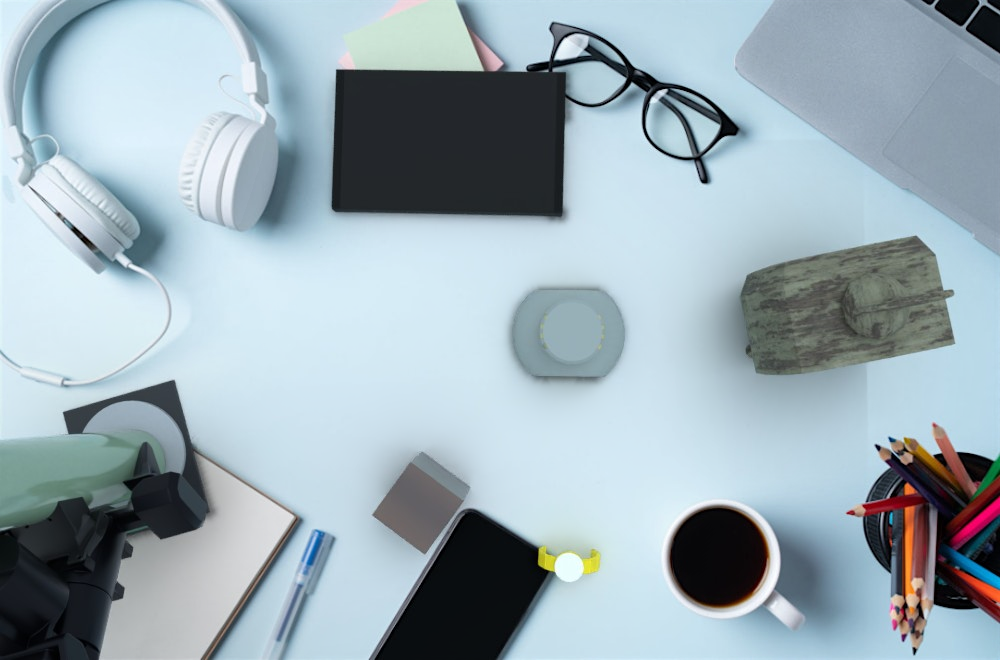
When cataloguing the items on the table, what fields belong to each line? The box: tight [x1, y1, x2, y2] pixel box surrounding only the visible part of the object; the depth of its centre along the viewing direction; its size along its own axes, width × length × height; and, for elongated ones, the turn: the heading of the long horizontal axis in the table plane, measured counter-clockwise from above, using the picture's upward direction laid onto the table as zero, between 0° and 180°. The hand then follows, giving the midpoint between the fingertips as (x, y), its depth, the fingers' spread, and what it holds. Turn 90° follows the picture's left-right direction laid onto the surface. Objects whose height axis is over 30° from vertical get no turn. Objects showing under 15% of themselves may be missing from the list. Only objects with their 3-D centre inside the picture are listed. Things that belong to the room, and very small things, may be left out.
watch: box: [537, 545, 601, 583], centre depth 76 cm, size 6×3×6 cm, turn 87°
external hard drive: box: [331, 68, 567, 217], centre depth 79 cm, size 14×23×3 cm, turn 88°
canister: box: [0, 429, 165, 532], centre depth 66 cm, size 7×7×26 cm
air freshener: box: [512, 289, 626, 378], centre depth 75 cm, size 11×8×10 cm
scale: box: [62, 379, 211, 537], centre depth 80 cm, size 14×12×2 cm
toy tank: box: [739, 235, 956, 376], centre depth 66 cm, size 14×9×25 cm, turn 101°
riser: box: [371, 451, 471, 555], centre depth 75 cm, size 6×6×9 cm
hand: (112, 454), depth 76 cm, fingers closed on canister, 7 cm apart
